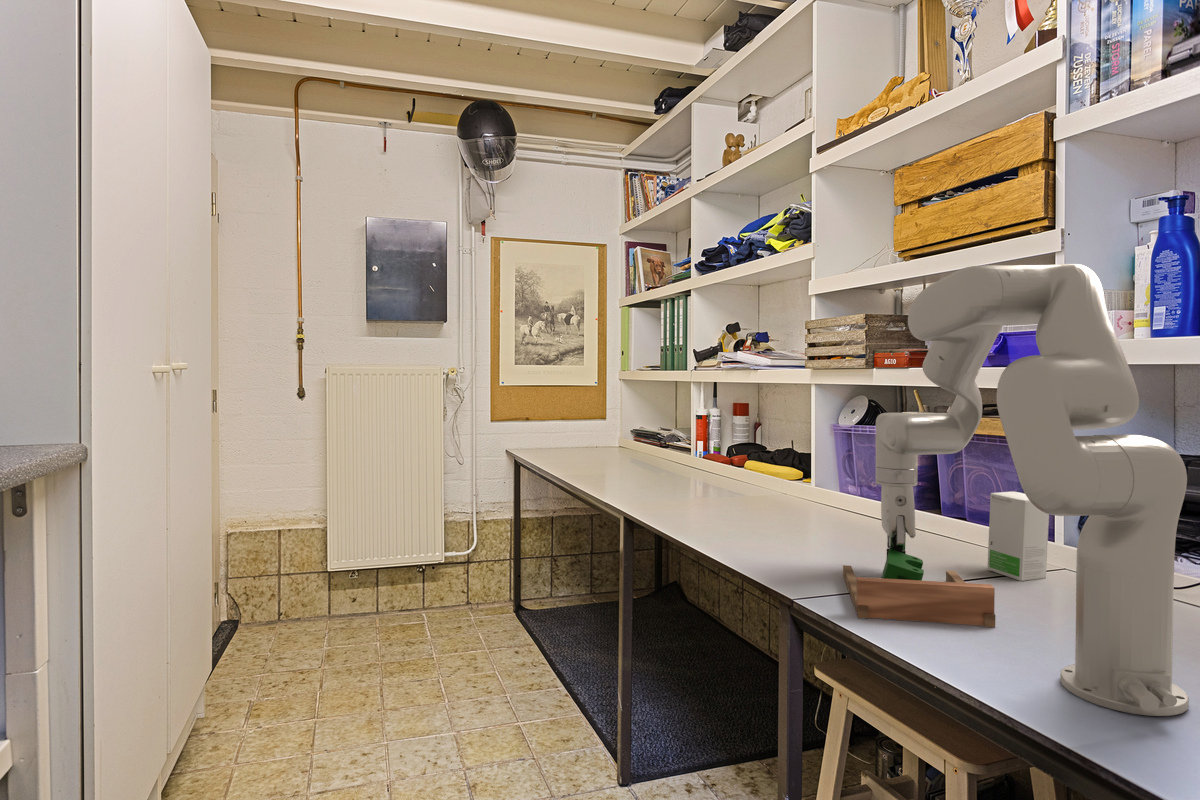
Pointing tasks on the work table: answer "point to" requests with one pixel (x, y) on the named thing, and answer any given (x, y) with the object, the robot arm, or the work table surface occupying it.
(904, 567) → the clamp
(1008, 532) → the skincare box
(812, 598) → the work table surface
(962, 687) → the work table surface
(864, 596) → the brown wooden tray
